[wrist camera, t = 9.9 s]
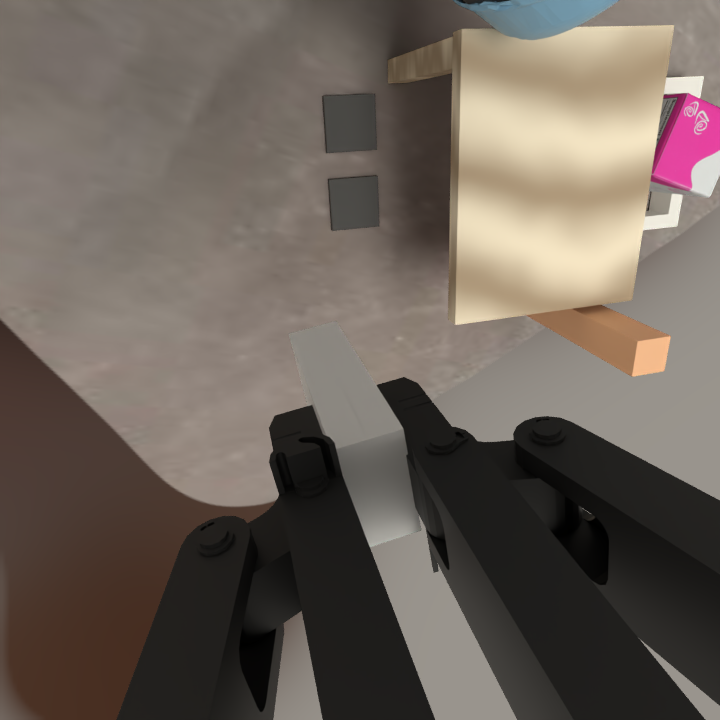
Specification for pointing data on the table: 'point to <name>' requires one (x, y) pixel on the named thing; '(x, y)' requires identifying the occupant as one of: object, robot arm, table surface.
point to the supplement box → (687, 147)
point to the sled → (609, 328)
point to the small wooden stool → (546, 163)
